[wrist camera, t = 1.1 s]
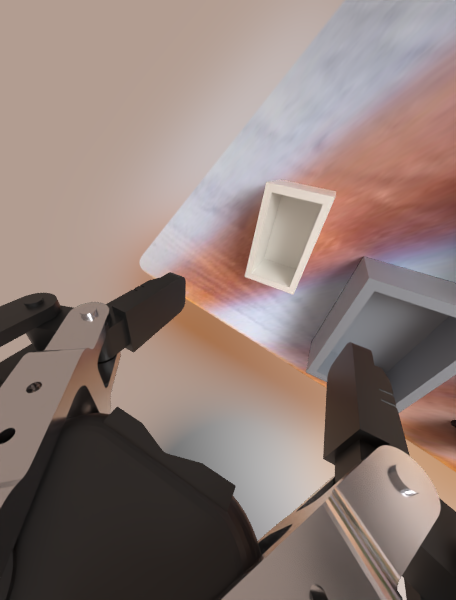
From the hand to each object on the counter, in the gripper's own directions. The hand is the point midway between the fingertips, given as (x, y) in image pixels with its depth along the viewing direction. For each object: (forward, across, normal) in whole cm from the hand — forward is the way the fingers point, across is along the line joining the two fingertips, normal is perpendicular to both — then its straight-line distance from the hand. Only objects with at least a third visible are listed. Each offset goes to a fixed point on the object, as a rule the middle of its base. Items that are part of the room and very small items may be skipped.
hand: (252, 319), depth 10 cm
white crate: (+19, +1, 0) cm, 19 cm away
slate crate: (+19, -12, +8) cm, 24 cm away
